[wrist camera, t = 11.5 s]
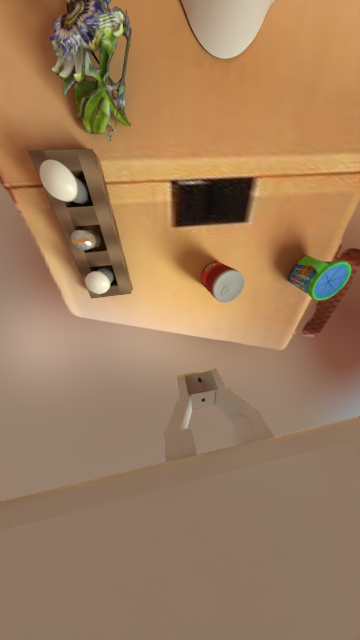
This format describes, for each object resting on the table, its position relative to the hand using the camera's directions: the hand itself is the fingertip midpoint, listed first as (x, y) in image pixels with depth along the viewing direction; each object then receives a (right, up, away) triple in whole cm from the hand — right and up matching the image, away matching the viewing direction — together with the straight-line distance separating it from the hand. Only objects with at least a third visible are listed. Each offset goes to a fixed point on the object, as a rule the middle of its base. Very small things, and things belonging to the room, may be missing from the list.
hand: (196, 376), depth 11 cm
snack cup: (+38, +20, +37) cm, 56 cm away
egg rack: (-21, +24, +23) cm, 39 cm away
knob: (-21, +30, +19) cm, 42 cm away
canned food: (+9, +18, +33) cm, 38 cm away
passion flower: (-14, +43, +13) cm, 47 cm away
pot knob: (-20, +22, +21) cm, 36 cm away
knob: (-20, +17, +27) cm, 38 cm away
